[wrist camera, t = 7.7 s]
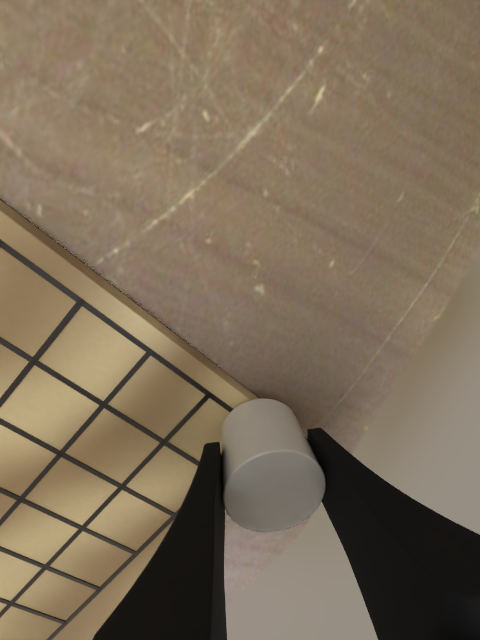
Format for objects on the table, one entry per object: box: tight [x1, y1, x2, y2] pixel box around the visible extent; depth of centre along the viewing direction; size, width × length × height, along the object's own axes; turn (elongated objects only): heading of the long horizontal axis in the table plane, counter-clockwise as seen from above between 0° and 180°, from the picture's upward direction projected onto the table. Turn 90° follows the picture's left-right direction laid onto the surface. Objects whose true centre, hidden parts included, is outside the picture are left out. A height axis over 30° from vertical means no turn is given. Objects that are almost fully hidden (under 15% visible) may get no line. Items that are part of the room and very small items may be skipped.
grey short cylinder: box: [220, 398, 326, 532], centre depth 11 cm, size 4×4×3 cm
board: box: [0, 200, 259, 640], centre depth 13 cm, size 18×24×1 cm
